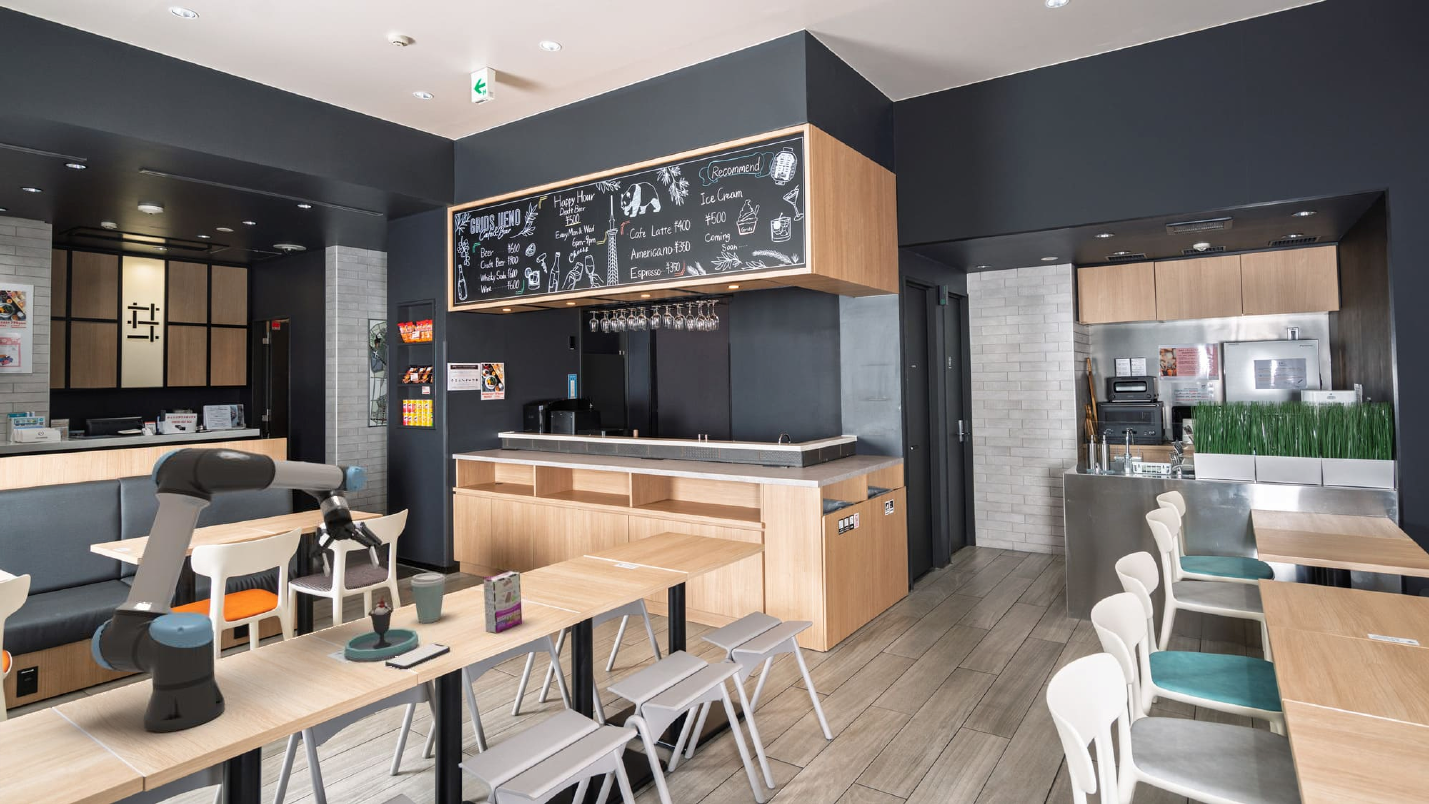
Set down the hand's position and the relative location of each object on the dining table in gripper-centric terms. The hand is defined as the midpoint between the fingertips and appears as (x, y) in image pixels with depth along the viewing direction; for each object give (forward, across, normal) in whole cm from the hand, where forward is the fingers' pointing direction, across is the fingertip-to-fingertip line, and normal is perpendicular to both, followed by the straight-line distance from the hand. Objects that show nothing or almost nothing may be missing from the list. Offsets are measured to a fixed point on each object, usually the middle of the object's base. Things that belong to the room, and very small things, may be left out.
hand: (352, 570), depth 218 cm
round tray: (+24, -4, -7) cm, 25 cm away
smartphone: (+35, -9, +3) cm, 36 cm away
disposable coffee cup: (+12, -25, -19) cm, 33 cm away
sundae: (+23, -4, -6) cm, 25 cm away
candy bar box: (+29, -38, -1) cm, 48 cm away
